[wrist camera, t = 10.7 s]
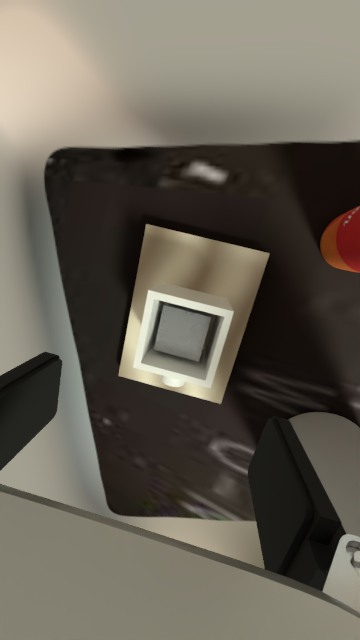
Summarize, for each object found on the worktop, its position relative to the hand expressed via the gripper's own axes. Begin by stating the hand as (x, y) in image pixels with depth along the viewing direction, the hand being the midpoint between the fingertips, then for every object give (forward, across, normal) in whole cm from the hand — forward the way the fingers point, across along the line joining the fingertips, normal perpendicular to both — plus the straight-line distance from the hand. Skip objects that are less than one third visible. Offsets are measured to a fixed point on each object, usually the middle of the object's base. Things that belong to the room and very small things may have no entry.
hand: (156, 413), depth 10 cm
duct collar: (+16, 0, +2) cm, 17 cm away
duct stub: (+16, 0, 0) cm, 17 cm away
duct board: (+18, 0, 0) cm, 18 cm away
